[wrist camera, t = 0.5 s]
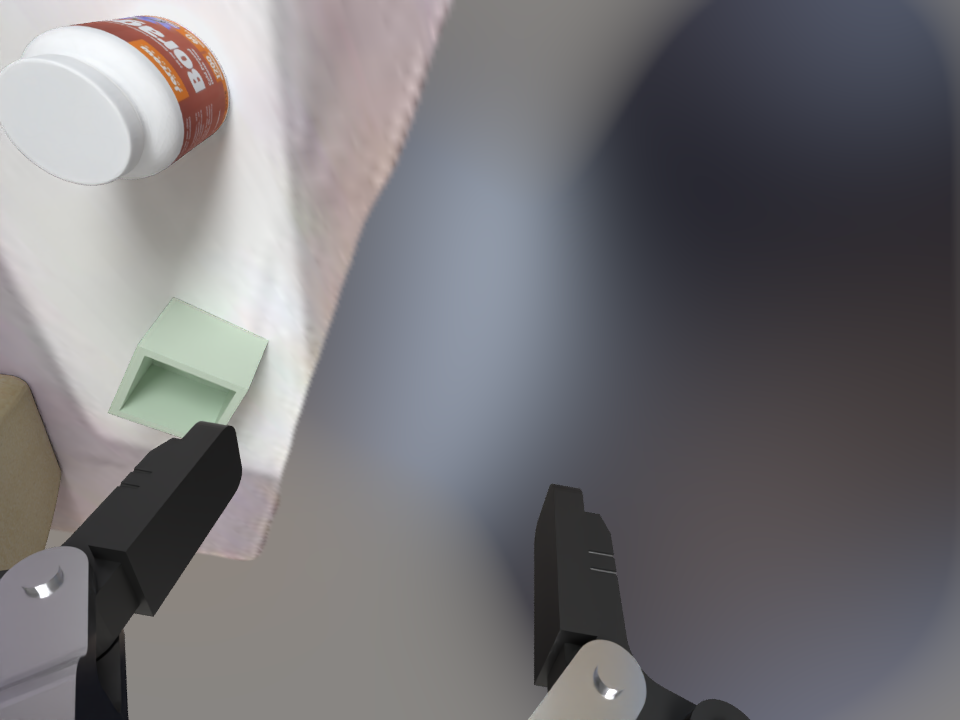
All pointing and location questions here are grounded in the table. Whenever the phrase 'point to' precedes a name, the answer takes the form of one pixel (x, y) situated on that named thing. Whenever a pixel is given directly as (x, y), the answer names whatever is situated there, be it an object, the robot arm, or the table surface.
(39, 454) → the flower pot
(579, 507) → the robot arm
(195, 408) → the pale green bin
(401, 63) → the table surface
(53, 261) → the table surface
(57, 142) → the pill bottle
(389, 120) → the table surface
